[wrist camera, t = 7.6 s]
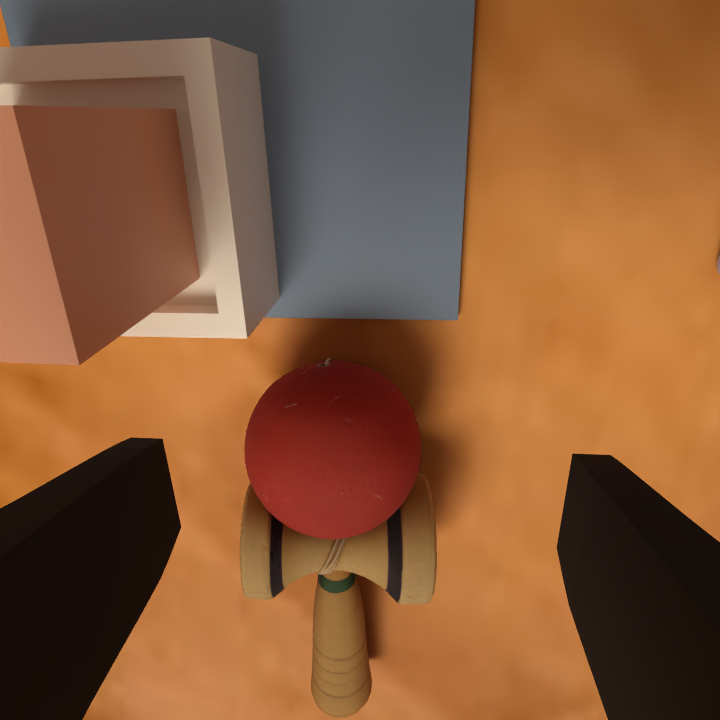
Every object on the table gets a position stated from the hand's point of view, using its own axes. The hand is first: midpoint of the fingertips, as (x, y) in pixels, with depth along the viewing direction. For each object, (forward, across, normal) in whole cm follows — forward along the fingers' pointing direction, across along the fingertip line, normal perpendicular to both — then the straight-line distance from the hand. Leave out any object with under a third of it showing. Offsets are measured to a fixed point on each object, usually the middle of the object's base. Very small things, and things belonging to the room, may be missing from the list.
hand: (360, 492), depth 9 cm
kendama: (+11, +2, +10) cm, 15 cm away
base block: (+10, +8, -4) cm, 13 cm away
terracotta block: (+7, +8, -4) cm, 11 cm away
